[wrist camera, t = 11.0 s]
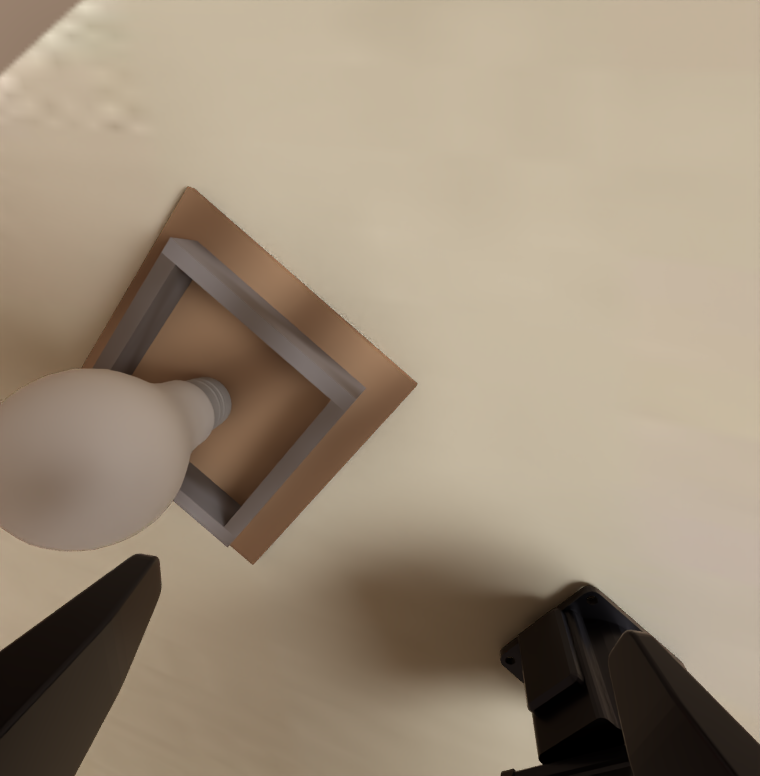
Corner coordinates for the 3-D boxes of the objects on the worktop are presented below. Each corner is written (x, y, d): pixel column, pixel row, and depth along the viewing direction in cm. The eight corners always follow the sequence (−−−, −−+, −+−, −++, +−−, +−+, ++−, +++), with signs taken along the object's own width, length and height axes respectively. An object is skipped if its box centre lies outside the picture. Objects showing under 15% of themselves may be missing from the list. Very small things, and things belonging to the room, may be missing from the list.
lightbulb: (144, 403, 24) (-110, 503, 13) (198, 312, 22) (-49, 346, 12) (233, 475, 24) (48, 630, 13) (295, 390, 22) (136, 494, 12)
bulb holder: (417, 383, 21) (411, 396, 19) (256, 559, 26) (235, 588, 23) (194, 188, 21) (159, 177, 19) (69, 398, 25) (28, 411, 23)
